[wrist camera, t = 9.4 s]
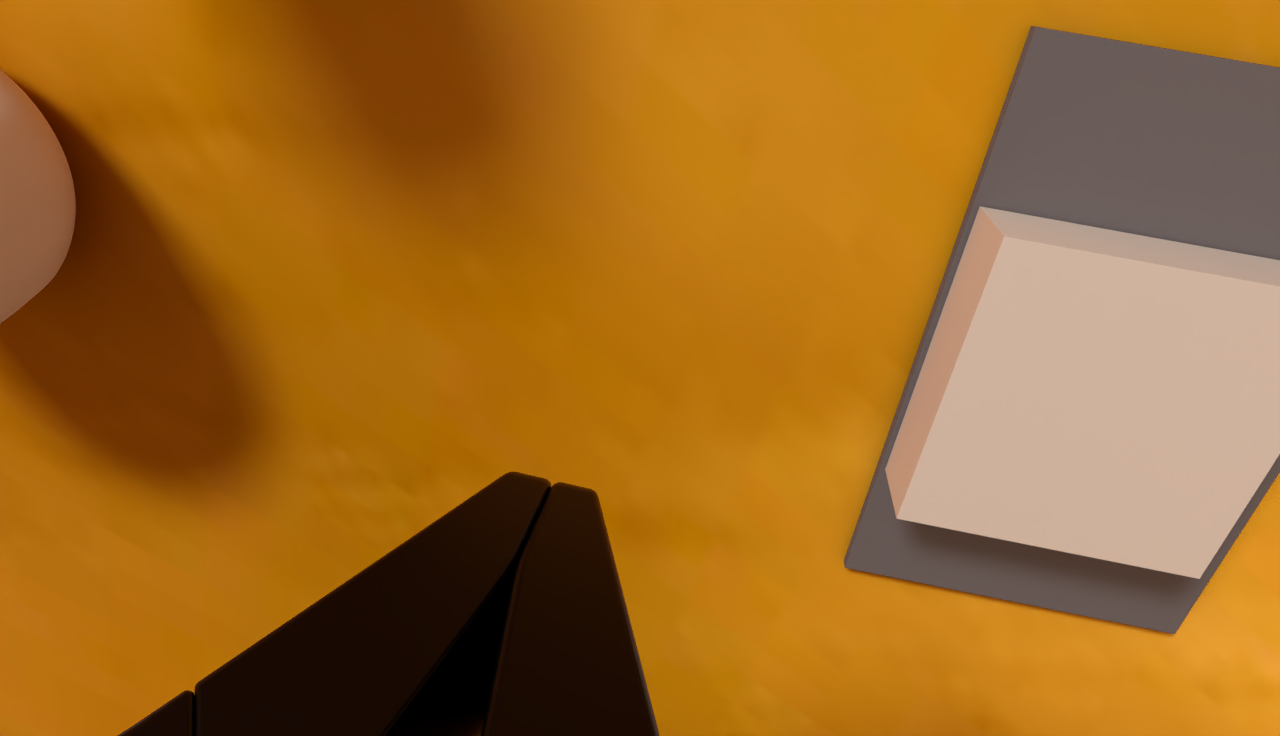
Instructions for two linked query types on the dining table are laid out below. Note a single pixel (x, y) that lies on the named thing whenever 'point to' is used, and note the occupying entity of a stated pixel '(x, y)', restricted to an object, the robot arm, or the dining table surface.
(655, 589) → the dining table surface
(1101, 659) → the dining table surface
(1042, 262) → the block
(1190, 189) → the mat
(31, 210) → the teacup
